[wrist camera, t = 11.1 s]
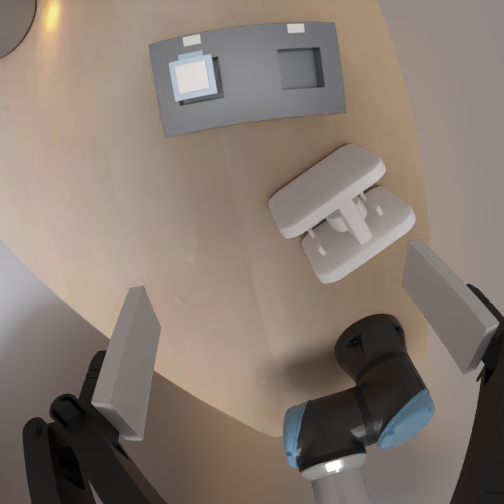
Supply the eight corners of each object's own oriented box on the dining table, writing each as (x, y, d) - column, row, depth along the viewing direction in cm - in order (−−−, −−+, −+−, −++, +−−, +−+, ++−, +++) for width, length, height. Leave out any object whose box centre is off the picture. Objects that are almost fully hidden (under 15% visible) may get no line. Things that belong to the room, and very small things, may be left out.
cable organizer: (351, 136, 39) (392, 154, 29) (383, 193, 43) (423, 225, 33) (264, 197, 42) (278, 233, 32) (304, 248, 47) (326, 294, 37)
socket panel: (336, 110, 37) (346, 113, 34) (170, 133, 37) (165, 137, 34) (325, 27, 31) (335, 22, 28) (155, 48, 31) (148, 44, 28)
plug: (219, 93, 34) (217, 93, 25) (187, 99, 34) (174, 101, 25) (213, 58, 32) (209, 45, 23) (181, 64, 32) (165, 54, 23)
